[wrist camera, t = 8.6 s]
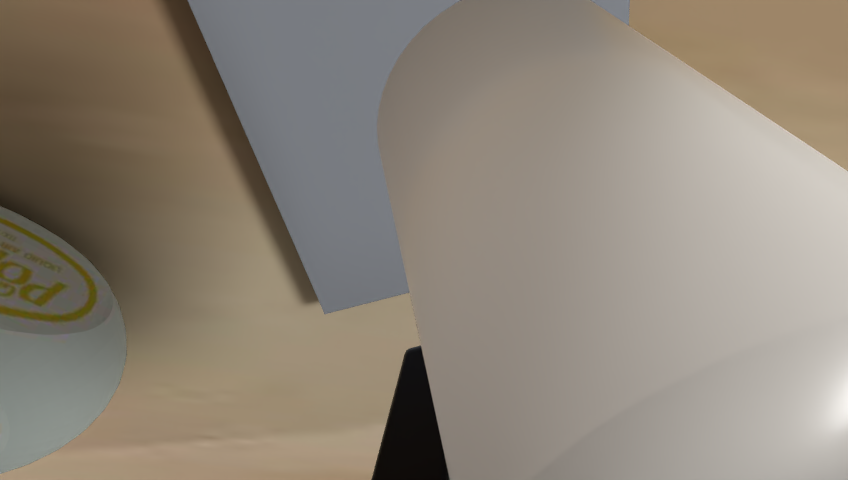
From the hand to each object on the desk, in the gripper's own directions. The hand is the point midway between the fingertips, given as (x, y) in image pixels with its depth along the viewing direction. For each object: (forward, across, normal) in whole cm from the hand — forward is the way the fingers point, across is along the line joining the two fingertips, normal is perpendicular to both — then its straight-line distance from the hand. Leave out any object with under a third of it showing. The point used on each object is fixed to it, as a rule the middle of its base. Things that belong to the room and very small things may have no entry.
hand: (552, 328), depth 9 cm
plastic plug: (+2, 0, 0) cm, 2 cm away
